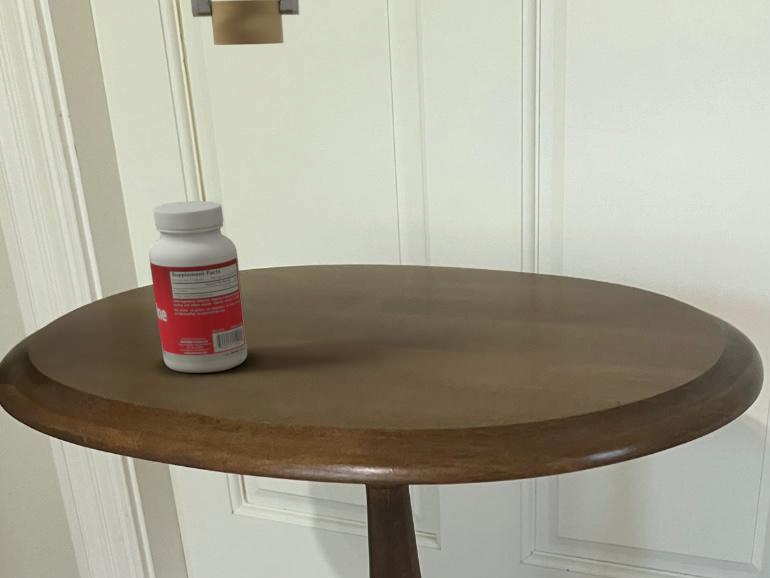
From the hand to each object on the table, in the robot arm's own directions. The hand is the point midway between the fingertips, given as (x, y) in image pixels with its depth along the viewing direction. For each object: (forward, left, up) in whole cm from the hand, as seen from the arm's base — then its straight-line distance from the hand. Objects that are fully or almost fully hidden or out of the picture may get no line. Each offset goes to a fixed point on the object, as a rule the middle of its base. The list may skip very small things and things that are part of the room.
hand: (247, 16), depth 85 cm
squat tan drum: (0, 0, -2) cm, 2 cm away
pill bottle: (-4, -18, -23) cm, 29 cm away
